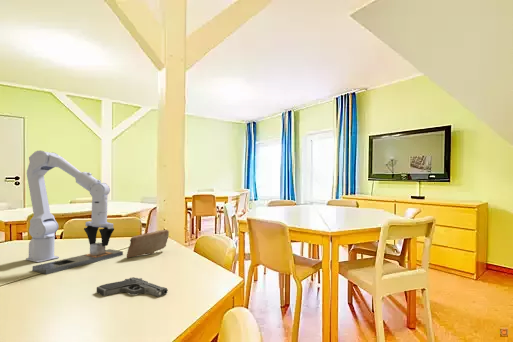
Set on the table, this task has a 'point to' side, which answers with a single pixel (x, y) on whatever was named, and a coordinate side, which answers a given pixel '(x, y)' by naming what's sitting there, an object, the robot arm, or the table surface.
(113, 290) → the handgun
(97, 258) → the rail
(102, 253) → the grey rectangular block
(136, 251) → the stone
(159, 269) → the table surface
